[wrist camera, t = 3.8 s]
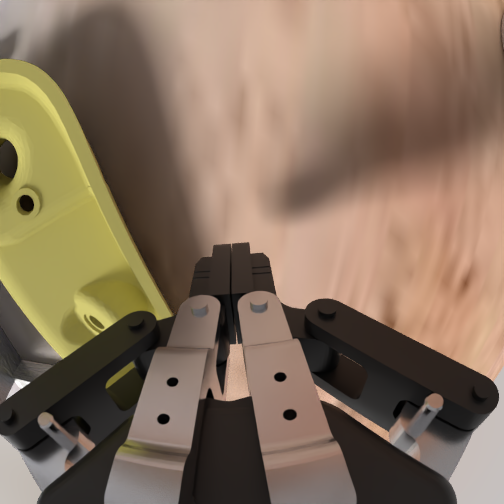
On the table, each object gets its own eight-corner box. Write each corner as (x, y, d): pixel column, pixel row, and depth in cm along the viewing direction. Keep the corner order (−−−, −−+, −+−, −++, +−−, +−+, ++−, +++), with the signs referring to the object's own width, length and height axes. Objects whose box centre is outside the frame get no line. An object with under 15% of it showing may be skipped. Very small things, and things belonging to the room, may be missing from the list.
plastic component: (203, 365, 17) (78, 426, 14) (169, 303, 23) (71, 355, 20) (52, 19, 6) (-112, 150, 3) (67, 58, 12) (-54, 137, 9)
